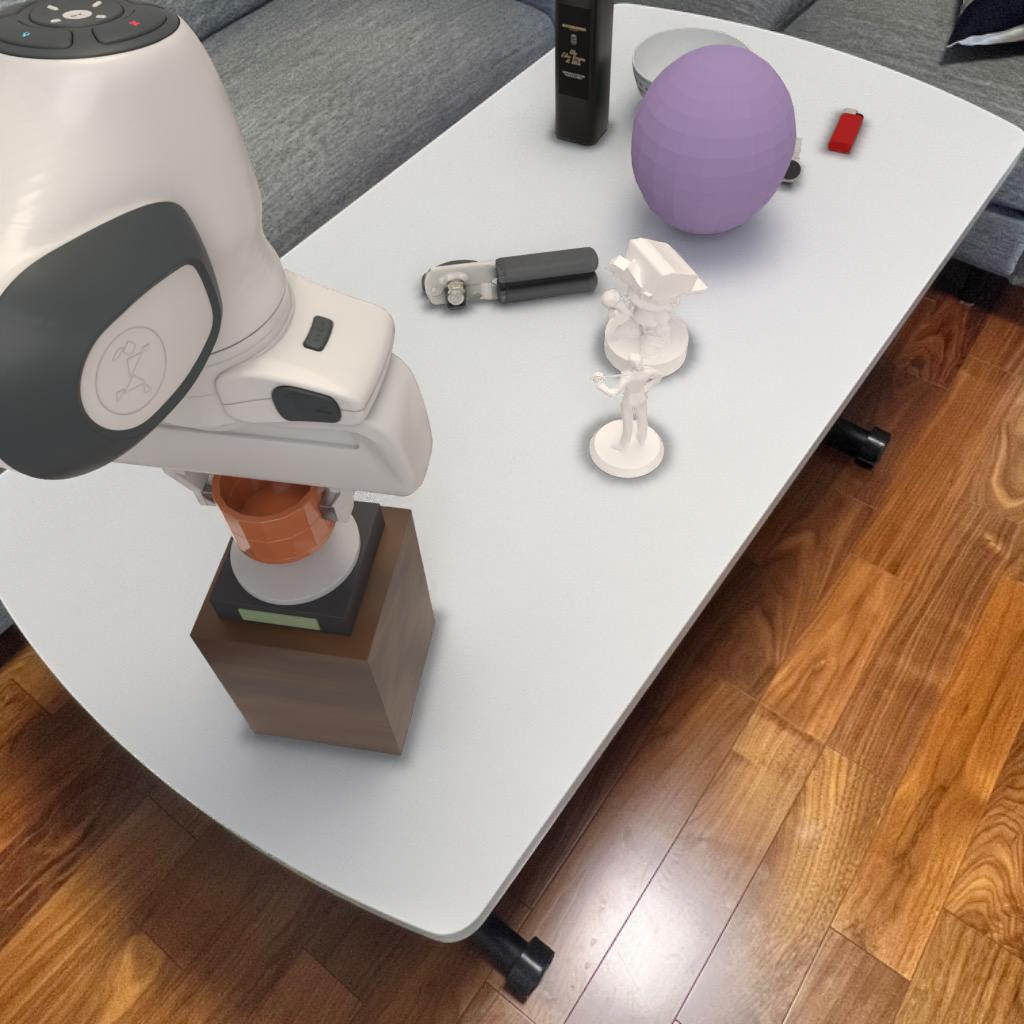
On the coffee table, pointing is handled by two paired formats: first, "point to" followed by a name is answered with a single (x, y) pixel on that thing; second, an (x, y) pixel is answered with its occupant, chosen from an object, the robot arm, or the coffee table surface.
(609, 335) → the character figurine
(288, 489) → the bowl
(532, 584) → the coffee table surface
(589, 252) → the can opener
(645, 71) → the chinaware
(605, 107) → the black tall square bottle
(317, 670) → the wooden block
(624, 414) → the figurine
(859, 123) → the lighter
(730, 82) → the purple ovoid
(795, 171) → the wristwatch
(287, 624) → the scale
